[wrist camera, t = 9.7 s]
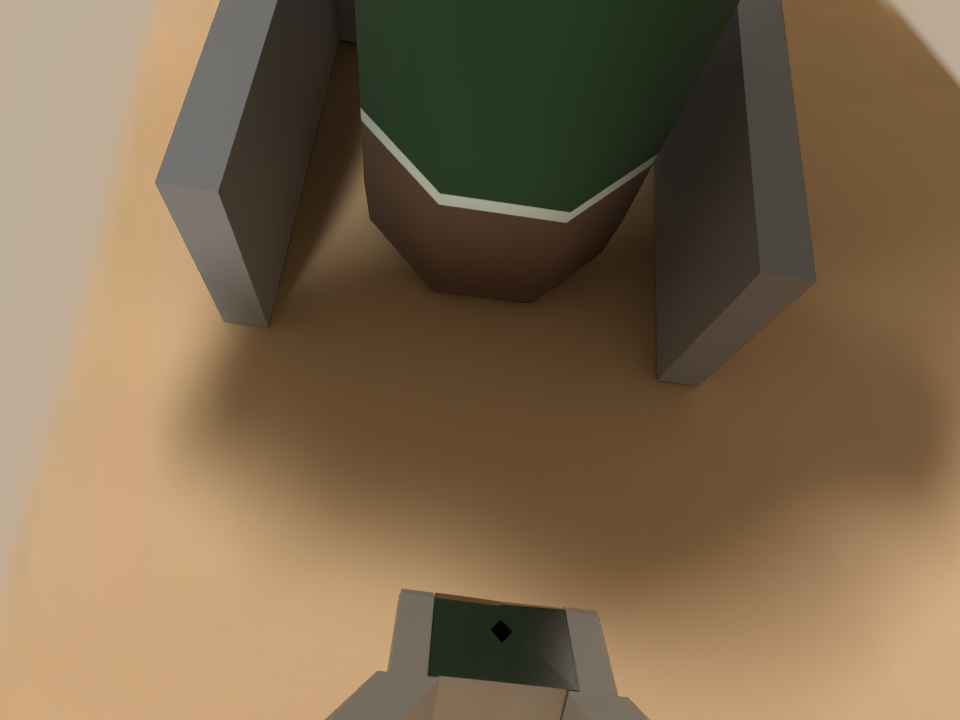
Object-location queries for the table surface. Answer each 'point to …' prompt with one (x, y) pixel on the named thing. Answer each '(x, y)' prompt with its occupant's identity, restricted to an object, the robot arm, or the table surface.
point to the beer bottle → (518, 127)
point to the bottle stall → (677, 174)
